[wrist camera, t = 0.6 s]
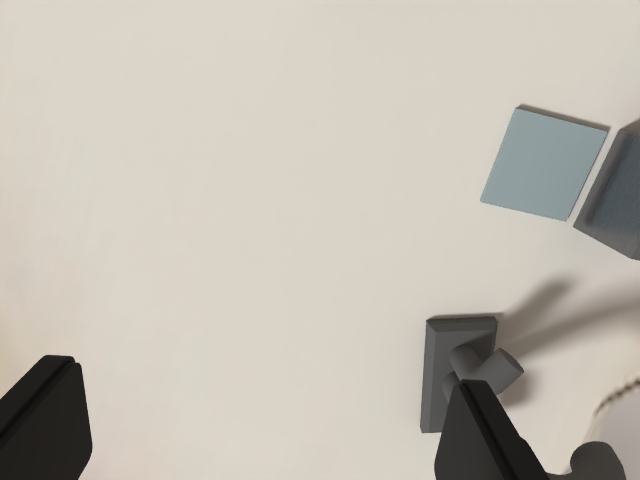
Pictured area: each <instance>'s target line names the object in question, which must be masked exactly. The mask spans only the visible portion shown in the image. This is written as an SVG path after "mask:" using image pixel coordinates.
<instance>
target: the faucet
mask: <svg viewBox="0 0 640 480" xmlns="http://www.w3.org/2000/svg"><path fill="white" fill-rule="evenodd" d="M497 322H498V321H497V320H496V319H495V318H494V317H477V318H456V319H434V320H426V337H425V354H424V370H423V387H422V403H421V420H420V428H421V431H422V433H437V432H442V430H443V425H444V421H445V417H446V413H447V409H448V405H449V401H450V397H451V393H452V389H453V386H454V385H455V384H460V381H461V380H462V379H474V380H485V381H487V383H488V384H489V385H490V387H491V389H492V390H493V392H494V394H495V395H498V394H500V393H501V392H502V391H503V390H505V389H506V388H507V387H508V386H509V385H510V384H511V383H512V382H514V381H515V380H516V379H517V378H518V377H519V376H520V375H521V374H522V373H524V370H523V368H522V367H521V366H520V364H519V363H518V362H517V361H516V360H515V359H514V358H513V357H512V356H511V355H510V354H508V353H507V352H506V351H505V350H503V349H501V348H499V349H498V350H497V351H496V352H494V345H495V337H496V329H497ZM493 352H494V353H493ZM570 466H571V469H572V472H571V473H569V474H566V475H556V474H550V473H547V472H546V474H547V475H548V477H549V479H550V480H626V476H625V473H624V469H623V466H622V464H621V462H620V460H619V459H618V457H617V455H616V454H615V452H614V450H613V449H612V447H611V446H610V445H608V444H607V443H604V442H597V441H593V442H588V443H585V444H583V445H581V446H579V447H578V448H577V449H576V450H575V451H574V452H573V454H572V457H571V460H570Z"/></svg>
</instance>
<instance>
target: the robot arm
mask: <svg viewBox="0 0 640 480" xmlns="http://www.w3.org/2000/svg"><path fill="white" fill-rule="evenodd" d="M91 453H92V438H91V431H90V424H89V417H88V410H87V403H86V396H85V389H84V382H83V375H82V368H81V365H80V363H75V359H74V358H73V357H71V356H59V355H46V356H44V357H42V358H41V359H40V360H39V361H38V362H37V363H36V364H35V365H34V366H33V367H32V368H31V369H30V370H29V371H28V372H27V373H26V374H25V375H24V376H23V377H22V378H21V379H20V380H19V381H18V382H17V383H16V384H15V385H14V386H13V387H12V388H11V389H10V390H9V391H8V392H7V393H6V394H5V395H4V396H3V397H2V398H1V399H0V480H78V478H79V477H80V475H81V473H82V472H83V470H84V468H85V467H86V465H87V463H88V461H89V459H90V456H91ZM434 470H435V476H436V480H550V479H549V477H548V475H547V474H546V472H545V470H544V469H543V467H542V465H541V464H540V462H539V460H538V459H537V457H536V455H535V454H534V452H533V451H532V449H531V447H530V446H529V444H528V443H527V442H526V440H524V439H523V438H521V437H520V436H519V434H518V432H517V431H516V429H515V427H514V426H513V424H512V422H511V421H510V419H509V417H508V416H507V414H506V412H505V411H504V409H503V407H502V405H501V404H500V402H499V400H498V399H497V397H496V395H495V394H494V392H493V390H492V389H491V387H490V385H489V384H488V383H487V381H485V380H474V379H462V380H461V381H460V384H455V385H454V386H453V389H452V393H451V397H450V401H449V405H448V409H447V413H446V417H445V421H444V425H443V430H442V434H441V438H440V442H439V446H438V450H437V454H436V458H435V463H434Z"/></svg>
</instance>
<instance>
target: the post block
mask: <svg viewBox="0 0 640 480" xmlns="http://www.w3.org/2000/svg"><path fill="white" fill-rule="evenodd" d="M573 227H574V228H576V229H578V230H579V231H581V232H583V233H585V234H587V235H589V236H590V237H592V238H594V239H596V240H598V241H600V242H601V243H603V244H605V245H607V246H609V247H611V248H612V249H614V250H616V251H618V252H620V253H621V254H623V255H625V256H627V257H629V258H631V259H635V260H640V133H638V132H631V131H625V130H619V131H618V133H617V135H616V138H615V140H614V142H613V144H612V146H611V148H610V150H609V152H608V154H607V156H606V159H605V161H604V163H603V165H602V167H601V169H600V171H599V173H598V175H597V177H596V180H595V182H594V184H593V186H592V188H591V190H590V192H589V194H588V196H587V198H586V201H585V203H584V205H583V207H582V209H581V211H580V213H579V215H578V217H577V219H576V222H575V224H574V226H573Z"/></svg>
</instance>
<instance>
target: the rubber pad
mask: <svg viewBox="0 0 640 480" xmlns="http://www.w3.org/2000/svg"><path fill="white" fill-rule="evenodd" d="M607 133H608V132H607V131H603V130H599V129H595V128H591V127H587V126H584V125H580V124H576V123H572V122H568V121H564V120H560V119H556V118H553V117H549V116H545V115H541V114H537V113H533V112H529V111H525V110H521V109H517V108H515V110H514V113H513V116H512V118H511V121H510V124H509V126H508V129H507V131H506V134H505V137H504V139H503V142H502V144H501V147H500V150H499V152H498V155H497V157H496V160H495V163H494V165H493V168H492V170H491V173H490V176H489V178H488V181H487V184H486V186H485V189H484V191H483V194H482V197H481V199H480V201H481V202H483V203H487V204H491V205H496V206H500V207H504V208H509V209H513V210H517V211H522V212H526V213H530V214H535V215H539V216H543V217H548V218H552V219H556V220H561V221H565V222H566V220H567V218H568V216H569V214H570V212H571V210H572V207H573V205H574V203H575V201H576V199H577V197H578V195H579V192H580V190H581V188H582V186H583V184H584V182H585V180H586V178H587V175H588V173H589V171H590V169H591V167H592V165H593V163H594V160H595V158H596V156H597V154H598V152H599V150H600V148H601V145H602V143H603V141H604V139H605V137H606V135H607Z"/></svg>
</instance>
